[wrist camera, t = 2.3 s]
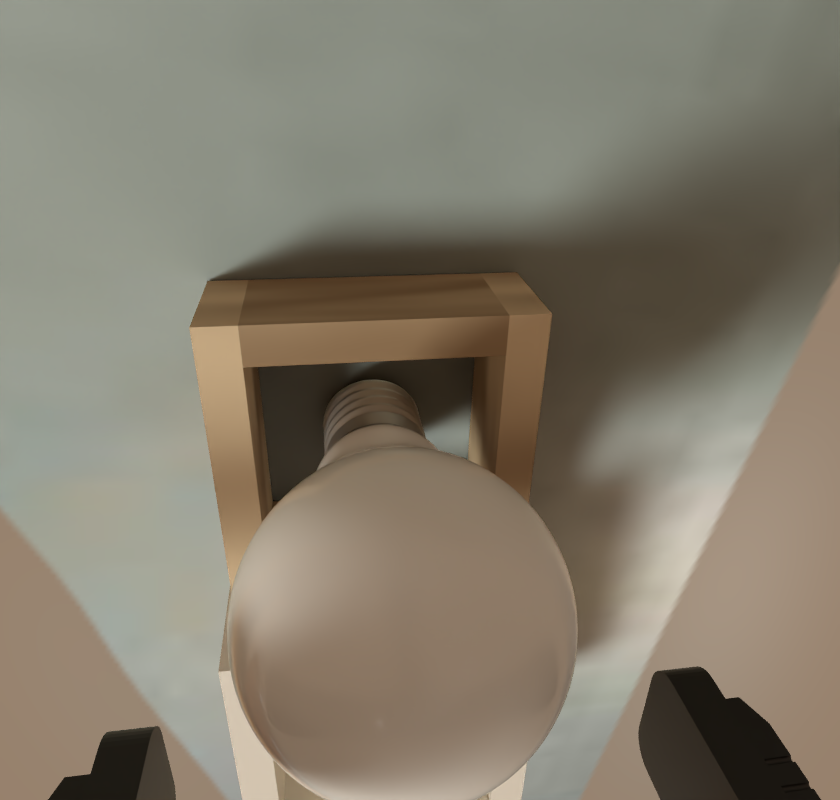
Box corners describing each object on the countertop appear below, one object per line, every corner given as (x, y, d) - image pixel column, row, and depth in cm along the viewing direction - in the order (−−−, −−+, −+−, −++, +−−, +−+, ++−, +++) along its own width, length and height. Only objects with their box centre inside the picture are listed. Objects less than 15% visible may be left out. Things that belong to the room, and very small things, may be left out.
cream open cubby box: (236, 537, 21) (218, 671, 16) (499, 516, 22) (546, 636, 18) (262, 712, 25) (253, 856, 20) (482, 686, 26) (517, 818, 22)
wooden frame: (207, 280, 17) (189, 327, 14) (516, 272, 18) (552, 313, 15) (242, 529, 21) (233, 601, 18) (494, 509, 22) (519, 575, 19)
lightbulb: (513, 346, 19) (720, 668, 9) (427, 517, 21) (523, 906, 12) (295, 274, 17) (282, 587, 8) (230, 471, 20) (158, 890, 10)
